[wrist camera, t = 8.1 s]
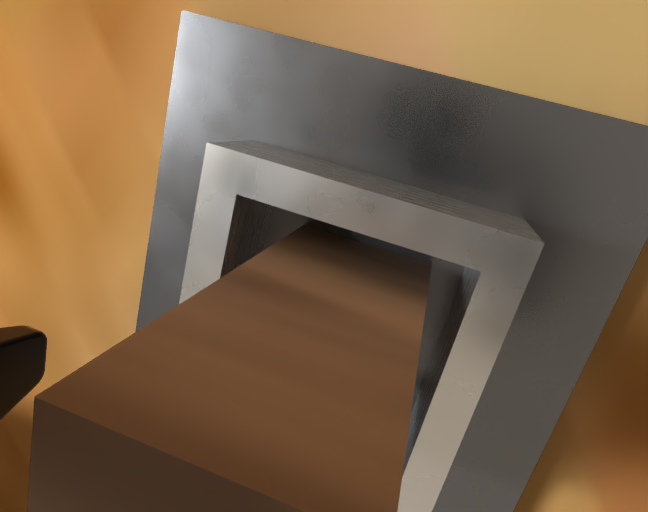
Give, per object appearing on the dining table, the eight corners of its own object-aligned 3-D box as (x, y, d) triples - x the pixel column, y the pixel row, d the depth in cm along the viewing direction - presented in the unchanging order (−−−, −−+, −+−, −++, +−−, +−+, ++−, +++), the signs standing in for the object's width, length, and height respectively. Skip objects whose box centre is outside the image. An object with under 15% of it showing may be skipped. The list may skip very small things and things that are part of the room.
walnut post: (392, 380, 15) (296, 794, 6) (276, 338, 16) (17, 644, 6) (431, 264, 14) (392, 549, 4) (304, 224, 14) (33, 396, 5)
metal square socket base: (488, 534, 17) (498, 651, 13) (141, 392, 19) (65, 456, 15) (677, 137, 12) (777, 140, 9) (198, 17, 15) (112, -21, 11)
